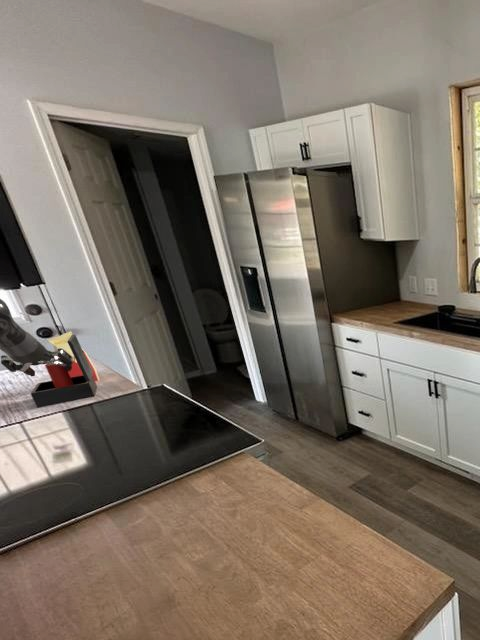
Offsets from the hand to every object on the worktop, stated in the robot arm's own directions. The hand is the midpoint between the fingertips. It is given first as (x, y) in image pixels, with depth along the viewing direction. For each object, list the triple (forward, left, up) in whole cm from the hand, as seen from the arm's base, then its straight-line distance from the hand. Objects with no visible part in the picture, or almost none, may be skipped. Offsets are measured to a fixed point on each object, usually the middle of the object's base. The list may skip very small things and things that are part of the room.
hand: (51, 371), depth 135 cm
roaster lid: (+7, +4, +2) cm, 8 cm away
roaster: (+1, +4, -11) cm, 12 cm away
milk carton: (+3, +23, -11) cm, 26 cm away
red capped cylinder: (+1, +4, -10) cm, 11 cm away
